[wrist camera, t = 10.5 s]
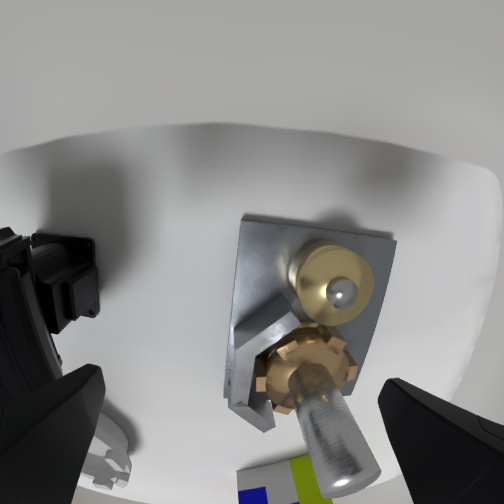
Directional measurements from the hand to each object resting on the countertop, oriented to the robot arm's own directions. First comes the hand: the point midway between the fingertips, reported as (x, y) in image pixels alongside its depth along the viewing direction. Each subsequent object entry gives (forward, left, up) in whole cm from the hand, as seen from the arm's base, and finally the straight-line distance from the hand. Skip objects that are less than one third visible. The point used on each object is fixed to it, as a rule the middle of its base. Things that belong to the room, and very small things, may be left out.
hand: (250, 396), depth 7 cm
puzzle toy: (+9, -29, -13) cm, 33 cm away
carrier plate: (+6, -4, -13) cm, 15 cm away
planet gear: (+6, -7, -12) cm, 15 cm away
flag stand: (-16, -22, -13) cm, 30 cm away
